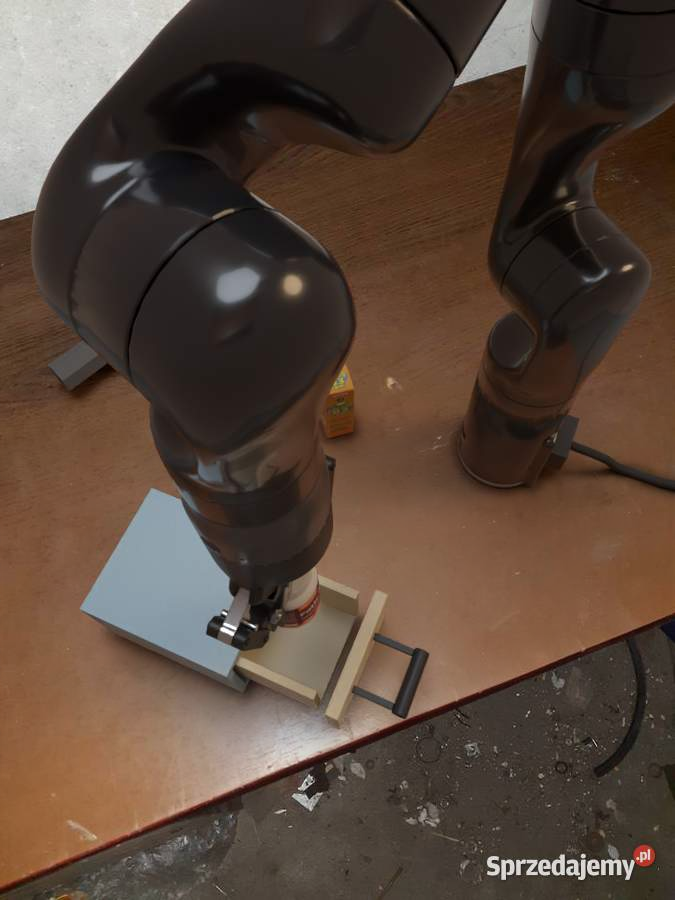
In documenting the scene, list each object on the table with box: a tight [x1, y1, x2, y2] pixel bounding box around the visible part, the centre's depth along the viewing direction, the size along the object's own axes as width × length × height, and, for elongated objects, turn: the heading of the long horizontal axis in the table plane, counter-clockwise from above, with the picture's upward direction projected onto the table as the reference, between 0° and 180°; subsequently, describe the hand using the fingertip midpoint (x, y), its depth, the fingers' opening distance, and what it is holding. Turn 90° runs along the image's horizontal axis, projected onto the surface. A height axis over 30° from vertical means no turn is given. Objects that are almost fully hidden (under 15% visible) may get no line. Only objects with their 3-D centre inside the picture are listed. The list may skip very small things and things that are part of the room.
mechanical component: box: [47, 339, 108, 392], centre depth 80 cm, size 10×18×10 cm, turn 135°
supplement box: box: [320, 364, 355, 439], centre depth 75 cm, size 3×3×10 cm
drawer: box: [232, 574, 430, 730], centre depth 63 cm, size 19×11×8 cm, turn 67°
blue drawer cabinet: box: [79, 487, 251, 694], centre depth 66 cm, size 15×13×10 cm
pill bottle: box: [283, 565, 321, 628], centre depth 52 cm, size 5×5×8 cm
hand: (288, 584), depth 52 cm, fingers closed on pill bottle, 4 cm apart
